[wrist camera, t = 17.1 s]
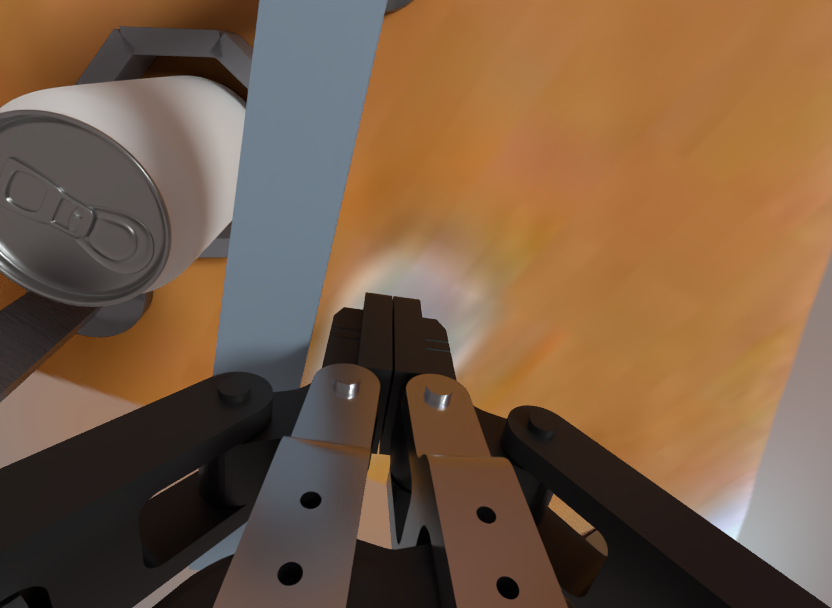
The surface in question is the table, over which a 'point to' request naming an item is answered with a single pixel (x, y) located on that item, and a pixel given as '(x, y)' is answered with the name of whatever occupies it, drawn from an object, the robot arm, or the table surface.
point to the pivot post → (396, 5)
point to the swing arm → (291, 185)
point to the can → (115, 184)
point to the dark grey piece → (54, 331)
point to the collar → (140, 46)
